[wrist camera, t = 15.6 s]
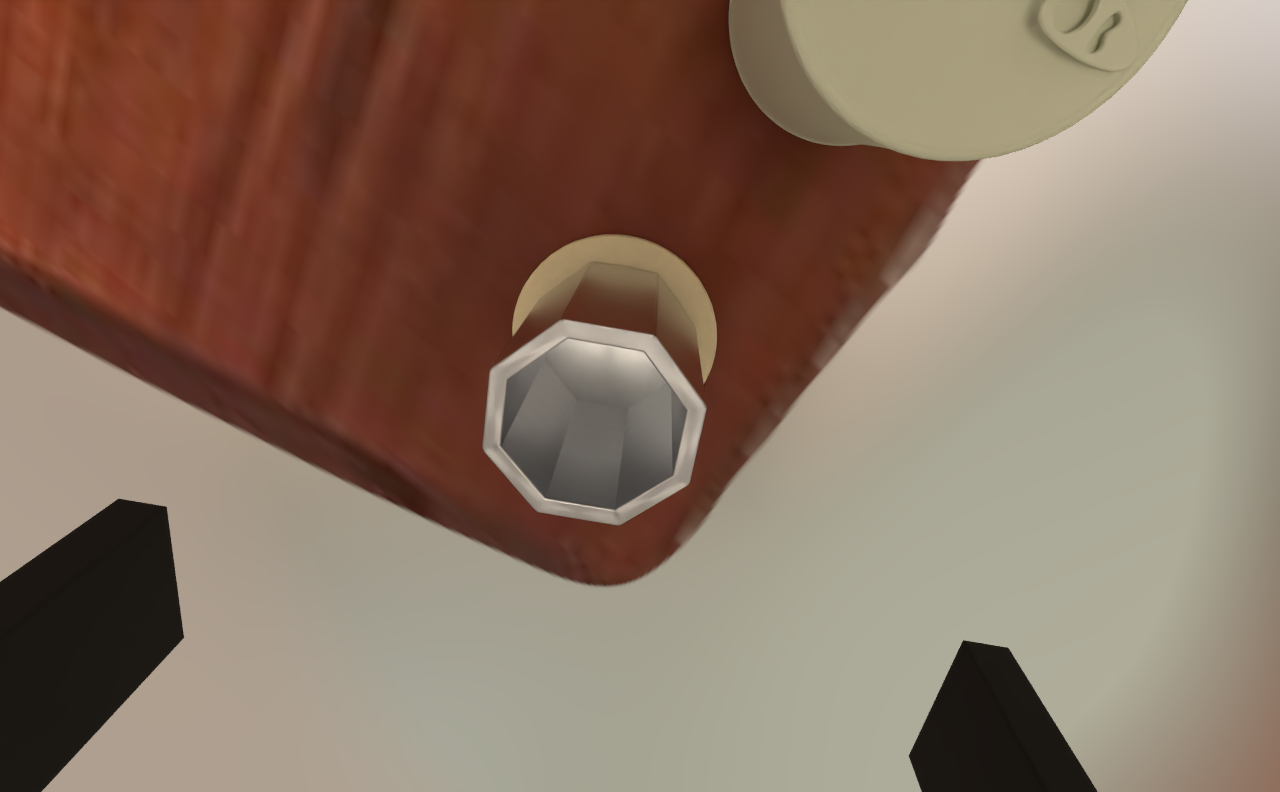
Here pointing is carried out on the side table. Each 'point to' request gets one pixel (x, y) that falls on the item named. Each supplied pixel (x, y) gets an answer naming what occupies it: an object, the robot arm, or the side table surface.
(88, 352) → the side table surface
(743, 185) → the side table surface
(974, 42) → the can
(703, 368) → the coaster
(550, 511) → the steel cup
